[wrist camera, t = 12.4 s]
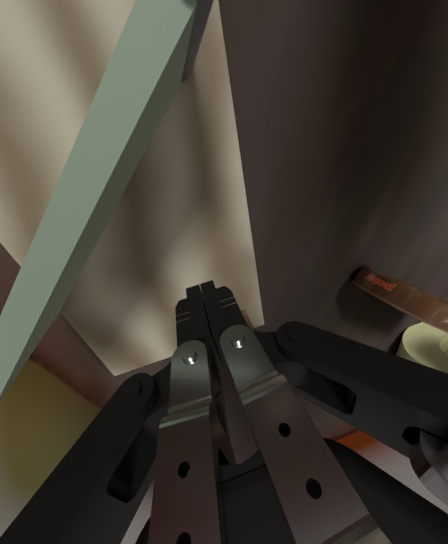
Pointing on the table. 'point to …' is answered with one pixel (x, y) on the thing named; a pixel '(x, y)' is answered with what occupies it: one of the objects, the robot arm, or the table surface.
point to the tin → (404, 297)
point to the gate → (100, 166)
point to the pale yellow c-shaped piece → (425, 346)
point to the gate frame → (141, 188)
